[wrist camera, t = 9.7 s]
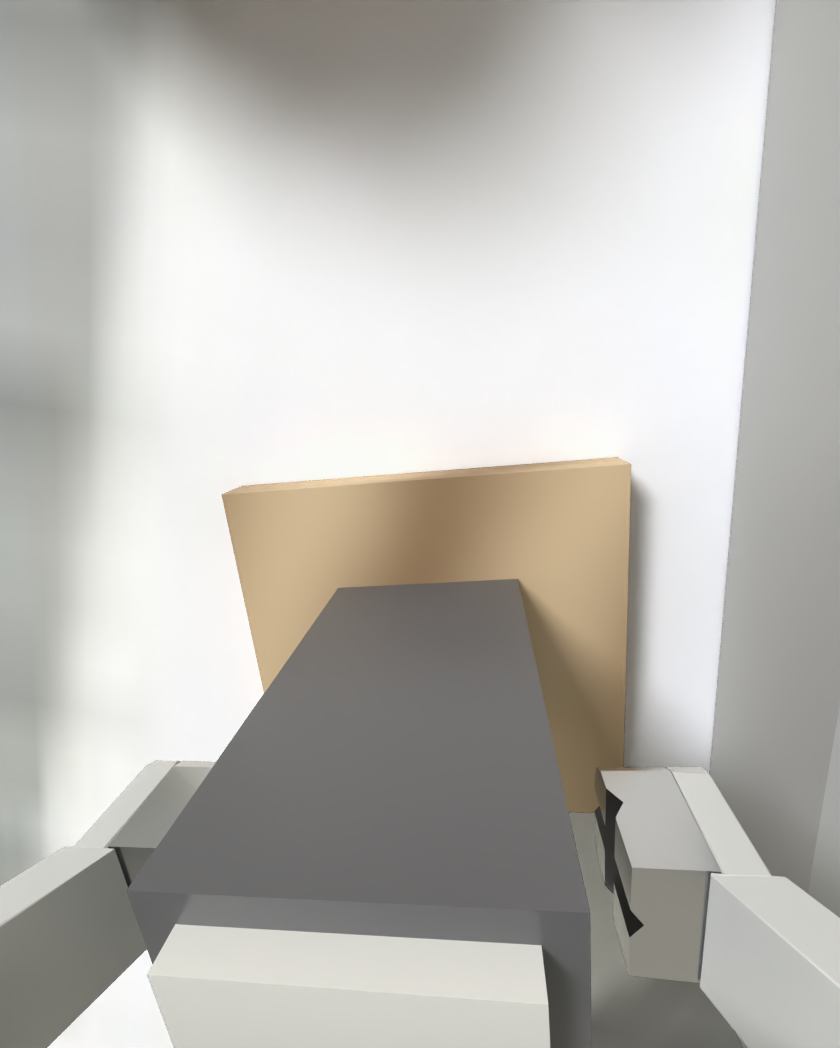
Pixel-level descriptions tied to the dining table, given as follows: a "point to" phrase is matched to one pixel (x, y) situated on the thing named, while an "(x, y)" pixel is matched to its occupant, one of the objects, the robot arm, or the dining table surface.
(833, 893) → the power strip
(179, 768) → the robot arm
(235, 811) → the block
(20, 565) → the dining table surface
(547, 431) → the dining table surface
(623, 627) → the cork coaster
